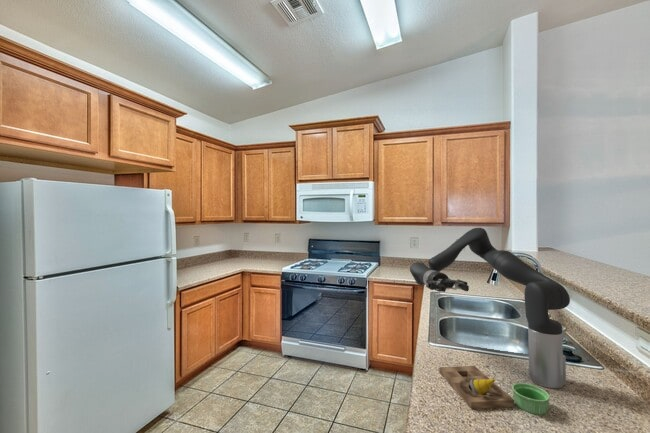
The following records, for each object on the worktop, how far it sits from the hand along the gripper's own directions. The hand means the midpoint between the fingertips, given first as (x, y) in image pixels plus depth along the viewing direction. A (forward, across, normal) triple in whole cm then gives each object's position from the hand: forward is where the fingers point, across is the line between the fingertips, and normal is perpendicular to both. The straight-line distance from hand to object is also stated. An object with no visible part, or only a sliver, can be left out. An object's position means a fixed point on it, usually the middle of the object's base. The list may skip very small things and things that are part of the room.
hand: (455, 288), depth 106 cm
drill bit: (+14, 0, -30) cm, 33 cm away
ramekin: (+20, -12, -30) cm, 38 cm away
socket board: (+10, 0, -30) cm, 31 cm away
